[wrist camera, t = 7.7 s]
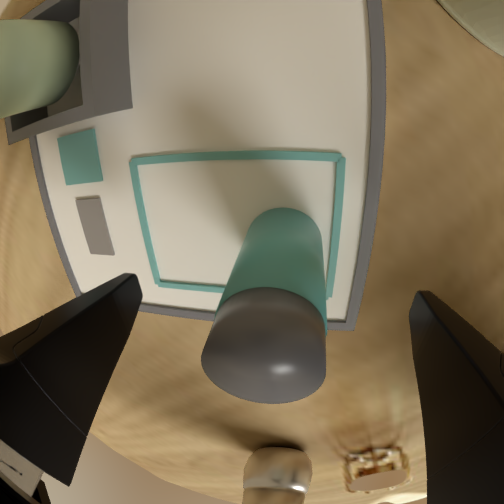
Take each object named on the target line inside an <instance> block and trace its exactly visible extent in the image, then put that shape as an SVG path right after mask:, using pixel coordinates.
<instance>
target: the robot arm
mask: <svg viewBox="0 0 504 504" xmlns="http://www.w3.org/2000/svg"><path fill="white" fill-rule="evenodd" d="M142 298H143V293H142V290H141V287H140V283H139V280H138V277H137V275H136V274H134V273H123V274H121V275H119V276H117V277H115V278H113V279H111V280H109V281H107V282H105V283H103V284H101V285H99V286H97V287H96V288H94V289H92V290H90V291H88V292H86V293H84V294H82V295H80V296H78V297H76V298H74V299H72V300H71V301H69V302H67V303H65V304H63V305H61V306H59V307H57V308H56V309H54V310H52V311H50V312H48V313H46V314H45V315H44V316H41V317H39V318H37V319H35V320H33V321H31V322H30V323H28V324H26V325H24V326H22V327H20V328H18V329H16V330H14V331H12V332H10V333H8V334H5V335H3V336H1V337H0V504H51V502H50V499H49V496H48V493H47V490H46V487H45V483H44V482H43V481H42V480H41V476H42V474H43V472H45V473H47V474H49V475H50V476H52V477H53V478H55V479H57V480H59V481H60V482H62V483H63V484H65V485H67V486H70V484H71V482H72V479H73V476H74V472H75V470H76V467H77V463H78V461H79V458H80V455H81V452H82V449H83V446H84V444H85V441H86V438H87V437H86V436H87V435H88V432H89V430H90V427H91V425H92V422H93V419H94V417H95V414H96V412H97V409H98V407H99V404H100V402H101V399H102V397H103V394H104V392H105V390H106V387H107V385H108V383H109V380H110V378H111V376H112V373H113V371H114V369H115V366H116V364H117V362H118V360H119V357H120V355H121V353H122V351H123V349H124V346H125V344H126V342H127V340H128V338H129V335H130V332H131V330H132V327H133V324H134V321H135V318H136V316H137V313H138V310H139V307H140V305H141V302H142ZM409 322H410V330H411V340H412V350H413V360H414V366H415V371H416V377H417V383H418V389H419V396H420V403H421V410H422V418H423V427H424V437H425V449H426V466H427V479H428V480H427V504H504V354H503V353H501V352H500V351H499V350H498V349H497V348H496V347H495V346H494V345H493V344H492V343H491V342H489V341H488V340H487V339H486V338H485V337H484V336H483V335H482V334H480V333H479V332H478V331H477V330H476V329H475V328H474V327H472V326H471V325H470V324H469V323H468V322H467V321H466V320H464V319H463V318H462V317H461V316H460V315H458V314H457V313H456V312H455V311H454V310H452V309H451V308H450V307H449V306H448V305H446V304H445V303H444V302H443V301H442V300H440V299H439V298H438V297H437V296H435V295H434V294H433V293H432V292H430V291H425V290H419V291H417V292H416V294H415V297H414V300H413V303H412V306H411V309H410V312H409Z"/></svg>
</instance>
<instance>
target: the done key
mask: <svg viewBox="0 0 504 504" xmlns="http://www.w3.org/2000/svg"><path fill="white" fill-rule="evenodd" d="M79 57H80V53H79V38H78V35H77V32H76V30H75V29H74V28H73V26H71V25H70V24H69V23H67V22H62V21H50V20H26V19H10V20H0V119H1V118H5V117H8V116H11V115H15V114H18V113H22V112H25V111H29V110H33V109H37V108H41V107H45V106H49V105H52V104H54V103H56V102H57V101H58V100H59V99H61V98H62V97H63V95H64V94H65V93H66V92H67V90H68V89H69V87H70V85H71V83H72V81H73V79H74V77H75V74H76V71H77V68H78V63H79Z"/></svg>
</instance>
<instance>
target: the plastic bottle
mask: <svg viewBox="0 0 504 504" xmlns="http://www.w3.org/2000/svg"><path fill="white" fill-rule="evenodd" d="M311 478H312V464H311V460H310V459H309V457H308V456H307V454H306V453H304V452H302V451H300V450H296V449H292V448H284V447H267V448H261V449H258V450H256V451H255V452H254V453H253V454H252V455H251V456H250V457H249V458H248V461H247V463H246V465H245V468H244V477H243V488H244V492H243V500H242V504H304V500H305V494H306V493H307V491H308V489H309V486H310V482H311Z"/></svg>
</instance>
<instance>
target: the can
mask: <svg viewBox="0 0 504 504" xmlns="http://www.w3.org/2000/svg"><path fill="white" fill-rule="evenodd" d="M437 1H438V2H439V3H440V4H441V5H442V7H443V8H444V9H445V10H446V11H447V12H448V13H449V14H450V15H451V16H452V17H453V18H454V19H455V20H456V21H457V22H458V23H459V24H460V25H461V26H462V27H463V28H465V29H466V30H467V31H468V32H469V33H470V34H471V35H473V36H474V37H475V38H476V39H478V40H479V41H480V42H481V43H483V44H484V45H485V46H487V47H488V48H490V49H491V50H493V51H494V52H496V53H498V54H499V55H501V56H503V57H504V0H437Z"/></svg>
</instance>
